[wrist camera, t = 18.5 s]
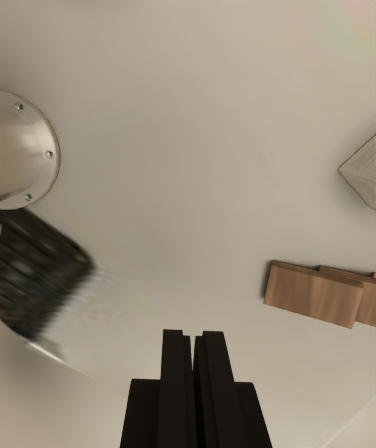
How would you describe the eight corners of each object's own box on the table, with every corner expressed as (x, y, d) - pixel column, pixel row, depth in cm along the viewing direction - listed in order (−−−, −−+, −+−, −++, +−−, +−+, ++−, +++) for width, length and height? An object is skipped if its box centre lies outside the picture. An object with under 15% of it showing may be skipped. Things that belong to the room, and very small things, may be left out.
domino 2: (310, 308, 43) (402, 334, 39) (319, 270, 41) (415, 294, 38) (310, 301, 44) (399, 325, 41) (319, 265, 43) (411, 287, 40)
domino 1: (263, 303, 42) (351, 329, 39) (271, 265, 41) (364, 288, 38) (265, 296, 44) (350, 320, 41) (273, 260, 43) (362, 282, 40)
